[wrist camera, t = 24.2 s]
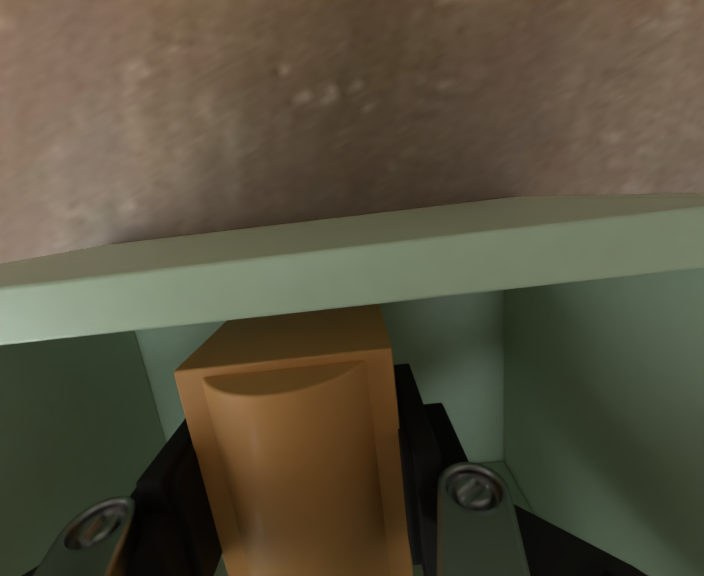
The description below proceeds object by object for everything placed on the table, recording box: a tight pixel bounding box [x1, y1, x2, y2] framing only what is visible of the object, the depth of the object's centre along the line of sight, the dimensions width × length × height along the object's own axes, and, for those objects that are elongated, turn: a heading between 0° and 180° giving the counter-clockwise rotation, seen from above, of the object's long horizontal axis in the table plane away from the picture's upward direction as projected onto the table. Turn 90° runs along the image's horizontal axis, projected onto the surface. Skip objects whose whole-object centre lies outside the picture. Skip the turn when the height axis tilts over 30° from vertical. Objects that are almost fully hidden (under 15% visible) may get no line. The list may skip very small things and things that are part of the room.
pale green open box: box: [0, 193, 704, 576], centre depth 10 cm, size 12×16×9 cm
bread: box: [174, 304, 413, 576], centre depth 9 cm, size 7×5×4 cm, turn 7°
